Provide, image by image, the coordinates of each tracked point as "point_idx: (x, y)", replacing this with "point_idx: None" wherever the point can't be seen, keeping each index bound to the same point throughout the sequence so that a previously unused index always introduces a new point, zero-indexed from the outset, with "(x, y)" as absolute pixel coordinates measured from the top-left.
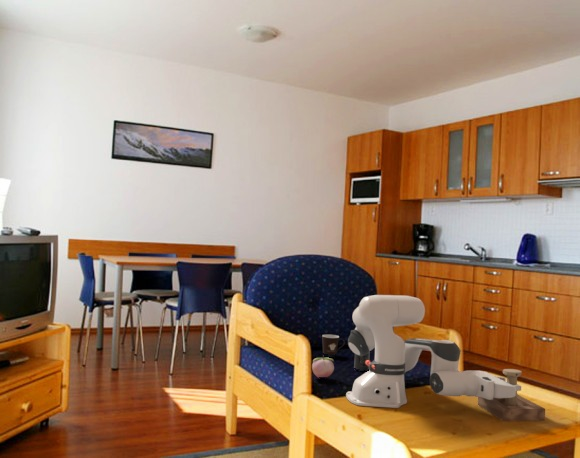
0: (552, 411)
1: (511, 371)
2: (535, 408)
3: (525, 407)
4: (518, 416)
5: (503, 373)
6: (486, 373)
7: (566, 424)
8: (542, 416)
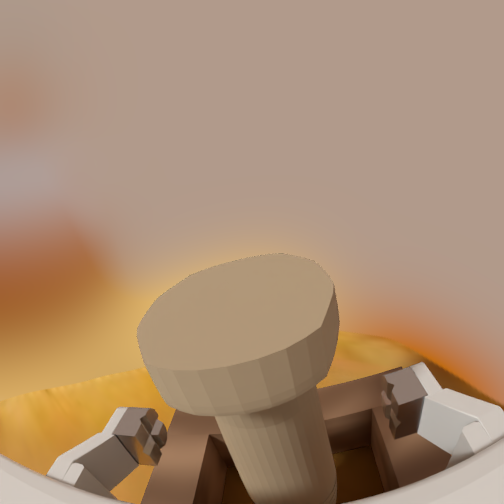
0: None
1: (273, 300)
2: None
3: (416, 442)
4: None
5: (207, 414)
6: (6, 496)
7: (416, 354)
8: None
